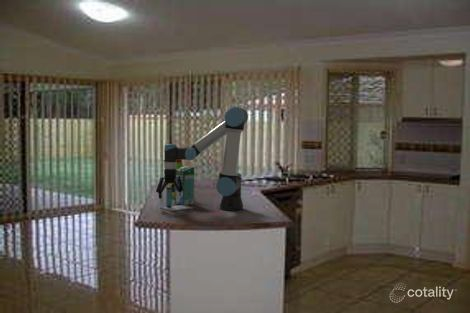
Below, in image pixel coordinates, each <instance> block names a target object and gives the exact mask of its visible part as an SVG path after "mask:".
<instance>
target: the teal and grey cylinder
mask: <svg viewBox="0 0 470 313" xmlns="http://www.w3.org/2000/svg"><path fill="white" fill-rule="evenodd" d="M165 188H166V191H165V192H166V193H165V194H166V195H165V203H166V206H165V207H167V208H171V206H173V198H172V187H169V186H166V187H165Z"/></svg>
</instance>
